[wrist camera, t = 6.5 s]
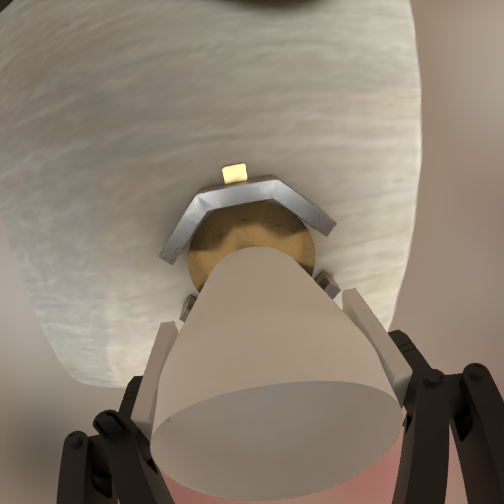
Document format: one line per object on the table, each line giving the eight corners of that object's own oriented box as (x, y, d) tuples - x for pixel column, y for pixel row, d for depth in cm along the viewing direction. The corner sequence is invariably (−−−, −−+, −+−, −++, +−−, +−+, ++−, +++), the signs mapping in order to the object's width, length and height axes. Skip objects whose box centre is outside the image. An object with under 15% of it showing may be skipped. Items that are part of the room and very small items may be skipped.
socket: (148, 183, 21) (139, 189, 19) (320, 151, 20) (329, 152, 18) (198, 348, 26) (196, 364, 24) (334, 324, 26) (341, 338, 24)
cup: (190, 344, 20) (166, 497, 9) (185, 223, 17) (114, 366, 6) (312, 346, 21) (359, 488, 10) (334, 230, 18) (450, 356, 7)
